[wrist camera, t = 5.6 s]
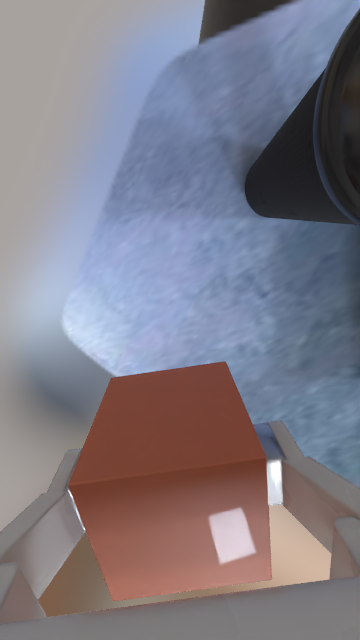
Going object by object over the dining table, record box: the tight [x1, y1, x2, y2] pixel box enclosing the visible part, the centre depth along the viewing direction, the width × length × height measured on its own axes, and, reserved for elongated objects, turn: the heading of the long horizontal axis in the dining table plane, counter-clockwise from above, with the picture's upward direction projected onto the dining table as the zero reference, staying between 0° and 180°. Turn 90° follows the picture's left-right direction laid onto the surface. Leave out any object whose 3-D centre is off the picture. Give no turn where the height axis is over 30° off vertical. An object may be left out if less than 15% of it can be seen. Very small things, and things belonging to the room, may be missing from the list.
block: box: [68, 362, 272, 601], centre depth 9 cm, size 5×5×5 cm
